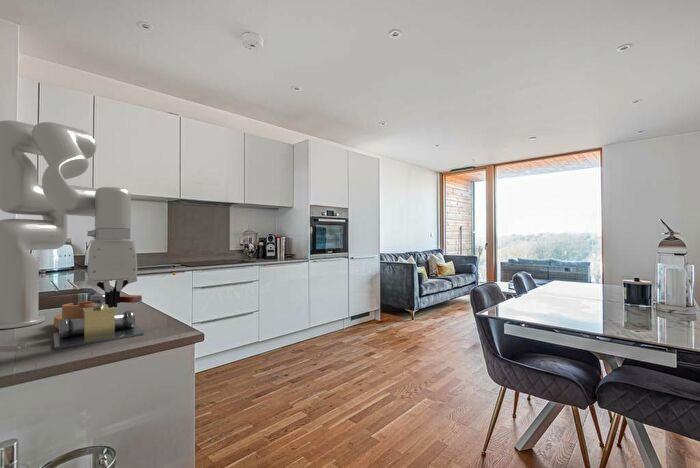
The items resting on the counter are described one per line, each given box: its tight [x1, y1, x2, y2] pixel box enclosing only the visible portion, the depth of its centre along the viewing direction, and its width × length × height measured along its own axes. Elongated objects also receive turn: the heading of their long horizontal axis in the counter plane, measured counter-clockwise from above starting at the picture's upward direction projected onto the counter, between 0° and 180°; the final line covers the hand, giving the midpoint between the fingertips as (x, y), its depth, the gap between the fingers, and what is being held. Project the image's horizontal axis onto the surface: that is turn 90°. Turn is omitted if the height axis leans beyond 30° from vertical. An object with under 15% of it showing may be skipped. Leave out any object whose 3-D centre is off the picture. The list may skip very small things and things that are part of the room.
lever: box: [89, 293, 143, 304], centre depth 89 cm, size 14×4×2 cm, turn 81°
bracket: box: [53, 300, 93, 330], centre depth 97 cm, size 18×8×7 cm, turn 51°
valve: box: [53, 301, 145, 351], centre depth 89 cm, size 15×18×9 cm
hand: (112, 306), depth 85 cm, fingers closed
